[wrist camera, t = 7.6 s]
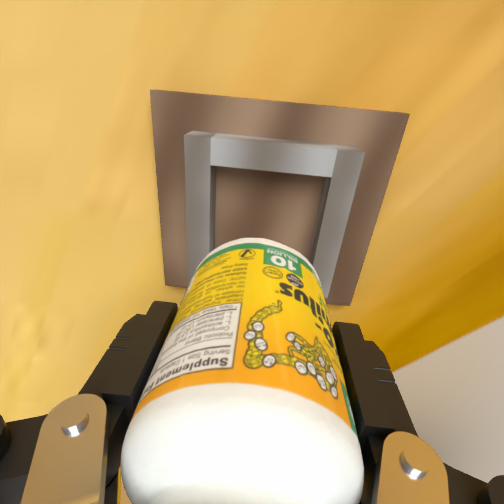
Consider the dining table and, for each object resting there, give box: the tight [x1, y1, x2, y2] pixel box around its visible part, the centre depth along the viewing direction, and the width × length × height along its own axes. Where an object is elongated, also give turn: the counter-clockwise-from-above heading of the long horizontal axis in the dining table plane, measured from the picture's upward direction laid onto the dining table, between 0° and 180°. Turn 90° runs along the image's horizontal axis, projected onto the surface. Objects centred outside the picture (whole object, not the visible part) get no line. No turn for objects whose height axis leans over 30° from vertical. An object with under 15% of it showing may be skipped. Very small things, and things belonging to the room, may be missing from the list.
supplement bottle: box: [121, 238, 364, 504], centre depth 8 cm, size 6×5×10 cm
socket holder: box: [150, 90, 410, 306], centre depth 20 cm, size 15×14×3 cm
